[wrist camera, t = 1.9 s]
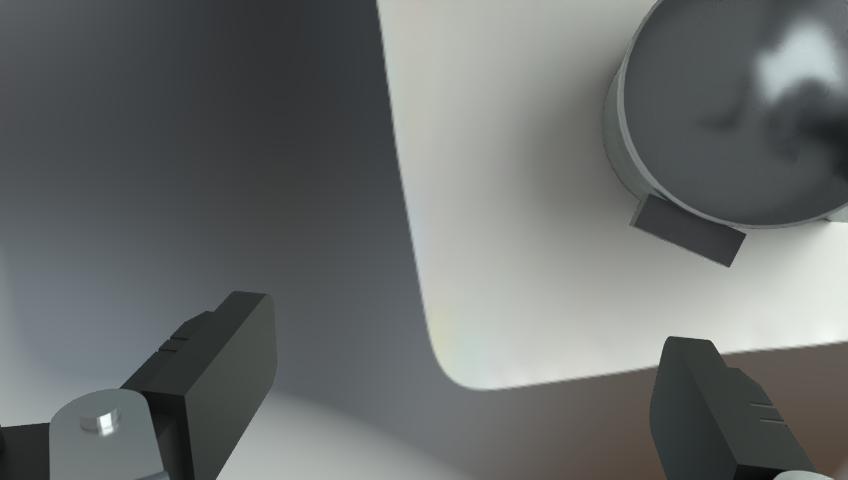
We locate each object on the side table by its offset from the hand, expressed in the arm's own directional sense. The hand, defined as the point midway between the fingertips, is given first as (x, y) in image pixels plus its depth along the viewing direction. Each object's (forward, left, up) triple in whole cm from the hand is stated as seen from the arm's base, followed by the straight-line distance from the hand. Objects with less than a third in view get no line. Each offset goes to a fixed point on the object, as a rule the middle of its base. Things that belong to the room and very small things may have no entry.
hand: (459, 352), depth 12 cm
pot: (-14, +2, -24) cm, 28 cm away
